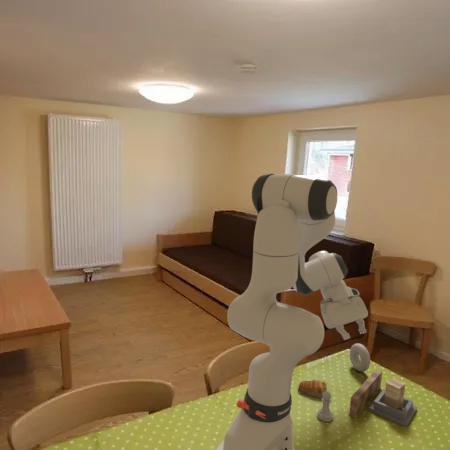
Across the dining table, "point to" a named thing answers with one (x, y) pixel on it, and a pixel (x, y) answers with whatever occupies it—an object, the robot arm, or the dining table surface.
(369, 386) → the door edge
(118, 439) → the dining table surface
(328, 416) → the chess piece
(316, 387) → the pastry
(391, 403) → the block
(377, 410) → the seat block
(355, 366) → the donut
